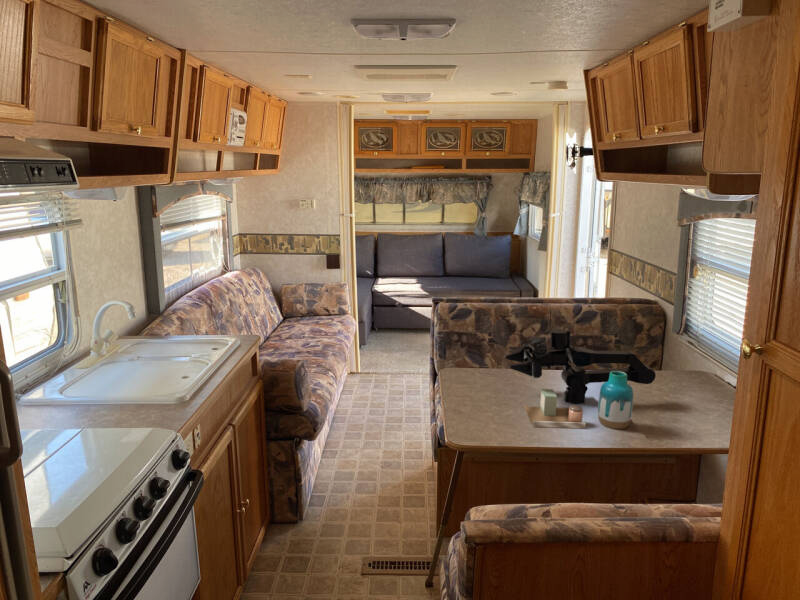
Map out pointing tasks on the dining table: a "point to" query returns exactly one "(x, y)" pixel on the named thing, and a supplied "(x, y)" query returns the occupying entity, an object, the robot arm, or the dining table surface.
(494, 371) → the dining table surface
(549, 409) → the tea box
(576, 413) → the spice jar
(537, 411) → the wooden tray
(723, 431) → the dining table surface
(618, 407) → the vase
